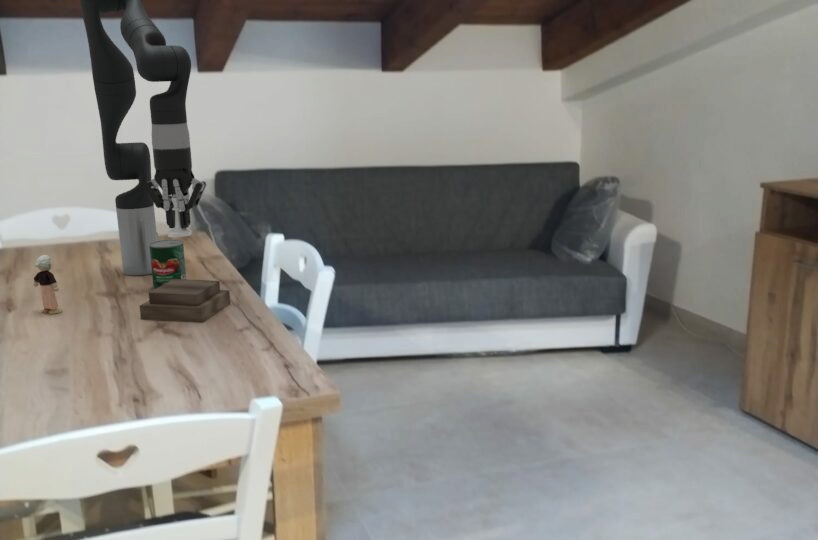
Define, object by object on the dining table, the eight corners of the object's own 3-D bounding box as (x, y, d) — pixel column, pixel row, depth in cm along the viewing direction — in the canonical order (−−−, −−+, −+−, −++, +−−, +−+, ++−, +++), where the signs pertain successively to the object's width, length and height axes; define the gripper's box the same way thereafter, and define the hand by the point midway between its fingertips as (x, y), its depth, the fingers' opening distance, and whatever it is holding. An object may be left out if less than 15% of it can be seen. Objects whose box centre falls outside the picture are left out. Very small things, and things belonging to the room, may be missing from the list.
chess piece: (185, 237, 166) (179, 189, 164) (163, 237, 167) (158, 190, 165) (195, 232, 171) (190, 186, 169) (174, 232, 172) (169, 186, 170)
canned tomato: (155, 293, 187) (150, 248, 184) (151, 285, 194) (146, 241, 191) (189, 289, 190) (185, 244, 188) (184, 281, 197) (180, 238, 195)
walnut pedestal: (173, 300, 182) (170, 276, 180) (230, 302, 179) (228, 279, 177) (140, 319, 168) (138, 294, 167) (202, 322, 166) (200, 297, 164)
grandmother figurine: (70, 310, 175) (63, 254, 172) (58, 315, 172) (50, 258, 169) (43, 307, 178) (35, 252, 175) (29, 312, 174) (21, 256, 171)
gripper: (210, 144, 167) (216, 225, 171) (150, 143, 169) (158, 223, 174) (194, 147, 160) (201, 232, 164) (131, 147, 162) (140, 230, 167)
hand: (178, 227), depth 169 cm, fingers closed on chess piece
